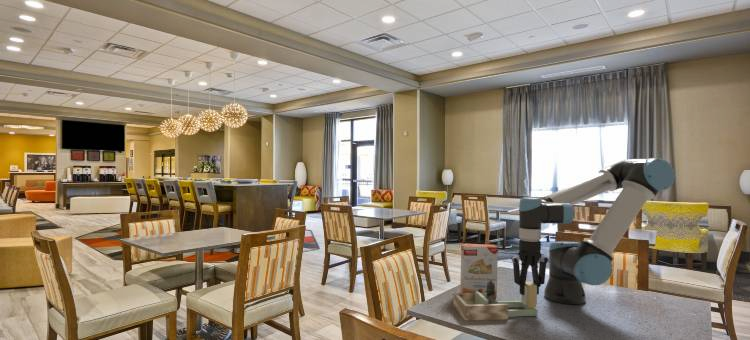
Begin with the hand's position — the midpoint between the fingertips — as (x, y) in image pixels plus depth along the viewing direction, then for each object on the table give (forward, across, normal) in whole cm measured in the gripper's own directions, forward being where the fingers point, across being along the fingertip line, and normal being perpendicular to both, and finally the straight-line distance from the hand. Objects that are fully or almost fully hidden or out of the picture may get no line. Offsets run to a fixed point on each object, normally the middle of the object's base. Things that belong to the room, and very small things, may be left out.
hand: (529, 303), depth 145 cm
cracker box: (+3, +12, -19) cm, 23 cm away
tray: (+3, +9, 0) cm, 9 cm away
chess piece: (+3, +15, 0) cm, 15 cm away
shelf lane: (+3, +19, 0) cm, 19 cm away
